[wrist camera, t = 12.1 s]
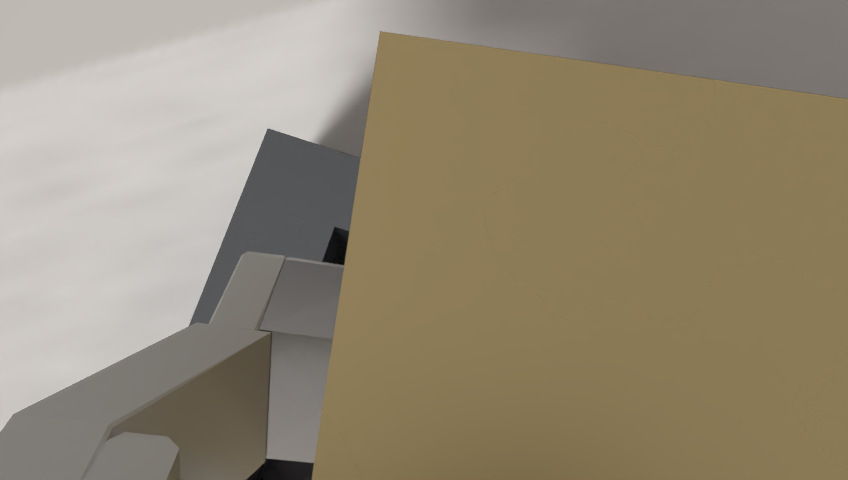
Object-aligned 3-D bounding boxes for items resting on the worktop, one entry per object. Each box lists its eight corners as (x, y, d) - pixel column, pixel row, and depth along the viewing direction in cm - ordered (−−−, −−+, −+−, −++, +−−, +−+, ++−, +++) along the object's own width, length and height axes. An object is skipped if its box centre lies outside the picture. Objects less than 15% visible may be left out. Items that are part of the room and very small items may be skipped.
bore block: (148, 534, 20) (96, 557, 16) (283, 183, 22) (267, 128, 18) (968, 799, 20) (1119, 887, 16) (1005, 416, 22) (1141, 410, 18)
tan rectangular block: (343, 505, 14) (288, 620, 5) (372, 294, 15) (380, 31, 6) (555, 531, 14) (935, 695, 5) (569, 320, 15) (902, 106, 6)
